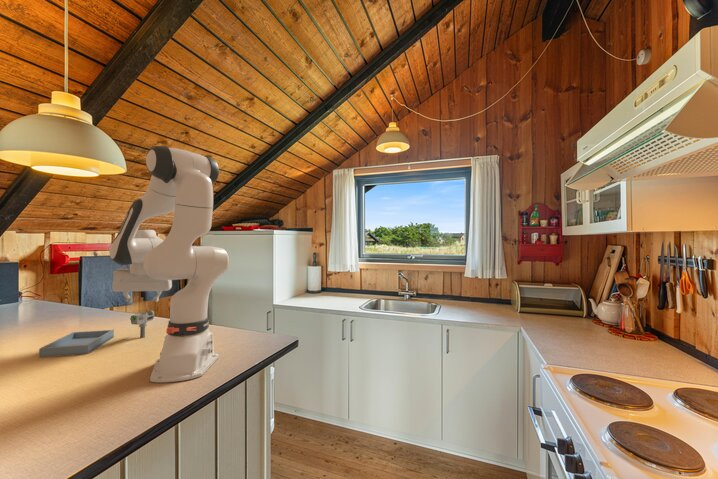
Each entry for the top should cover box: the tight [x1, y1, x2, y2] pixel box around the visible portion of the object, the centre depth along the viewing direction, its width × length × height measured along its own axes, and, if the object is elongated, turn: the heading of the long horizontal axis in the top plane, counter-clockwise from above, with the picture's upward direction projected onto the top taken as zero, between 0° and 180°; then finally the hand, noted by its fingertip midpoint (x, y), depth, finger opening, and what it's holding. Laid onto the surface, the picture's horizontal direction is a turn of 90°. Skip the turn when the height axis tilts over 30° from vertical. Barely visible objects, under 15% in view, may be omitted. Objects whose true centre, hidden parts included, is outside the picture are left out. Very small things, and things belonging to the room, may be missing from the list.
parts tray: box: [38, 329, 115, 358], centre depth 110 cm, size 18×14×3 cm
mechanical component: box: [129, 310, 155, 338], centre depth 121 cm, size 3×10×10 cm, turn 174°
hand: (142, 301), depth 121 cm, fingers open, 8 cm apart
